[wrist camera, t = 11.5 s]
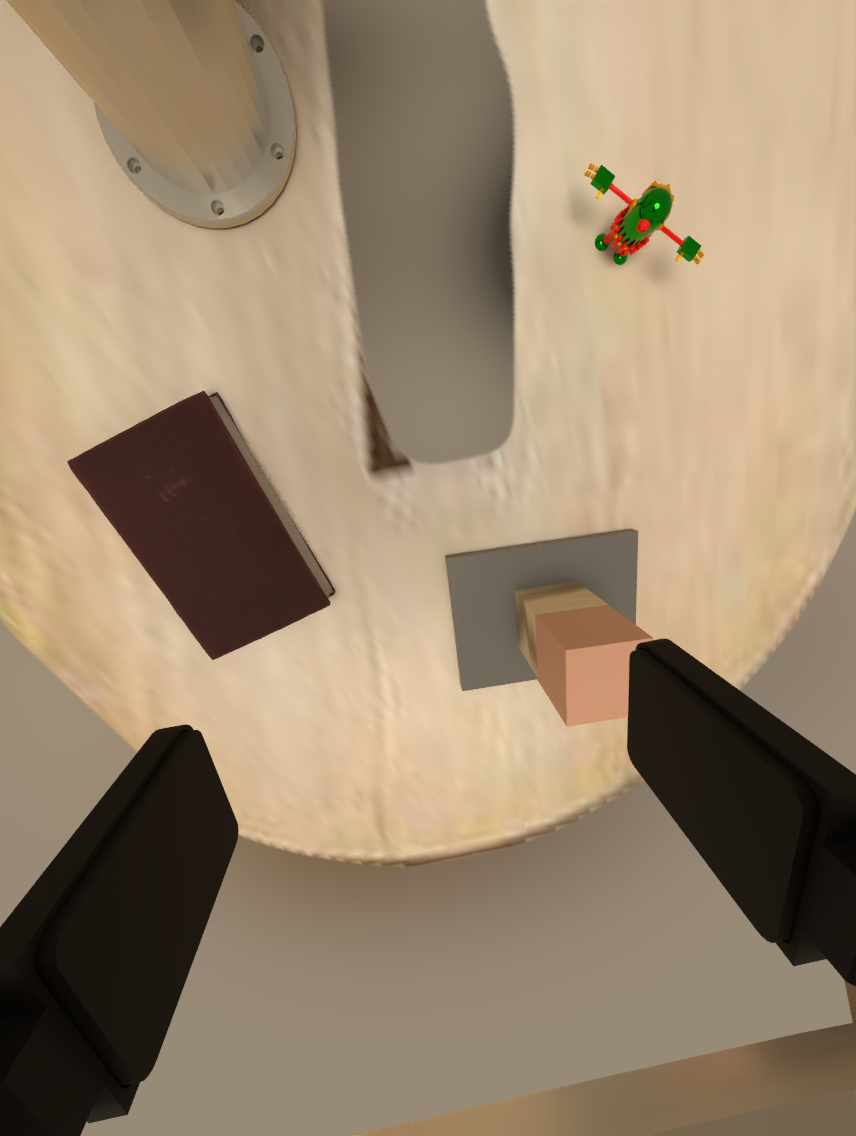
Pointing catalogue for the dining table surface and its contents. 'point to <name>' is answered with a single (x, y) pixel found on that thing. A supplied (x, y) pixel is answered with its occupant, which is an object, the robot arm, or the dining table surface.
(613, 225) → the toy character
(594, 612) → the terracotta block
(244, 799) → the dining table surface
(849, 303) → the dining table surface
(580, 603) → the maple block
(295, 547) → the book
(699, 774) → the robot arm
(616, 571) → the plate
